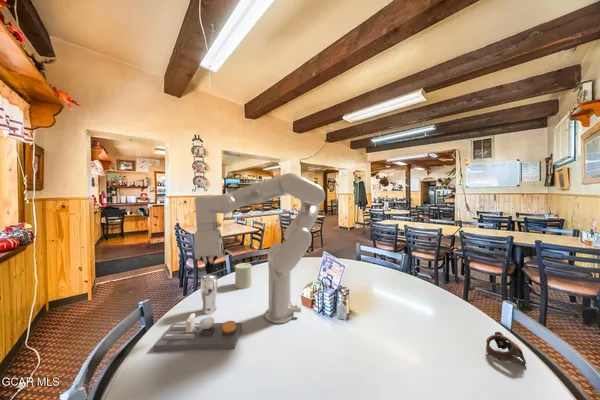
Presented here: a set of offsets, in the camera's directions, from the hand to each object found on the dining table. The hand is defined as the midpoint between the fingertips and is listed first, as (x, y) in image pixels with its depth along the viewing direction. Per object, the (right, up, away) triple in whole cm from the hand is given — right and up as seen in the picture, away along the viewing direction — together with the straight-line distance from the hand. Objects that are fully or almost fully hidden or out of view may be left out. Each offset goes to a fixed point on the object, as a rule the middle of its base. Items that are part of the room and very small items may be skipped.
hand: (210, 272), depth 88 cm
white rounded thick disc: (+1, -18, -6) cm, 19 cm away
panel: (-1, -22, -6) cm, 23 cm away
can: (+3, -20, +39) cm, 44 cm away
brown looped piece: (+104, -24, -14) cm, 107 cm away
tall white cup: (-6, -21, +13) cm, 25 cm away
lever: (-5, -20, -7) cm, 22 cm away
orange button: (+9, -20, -6) cm, 23 cm away
